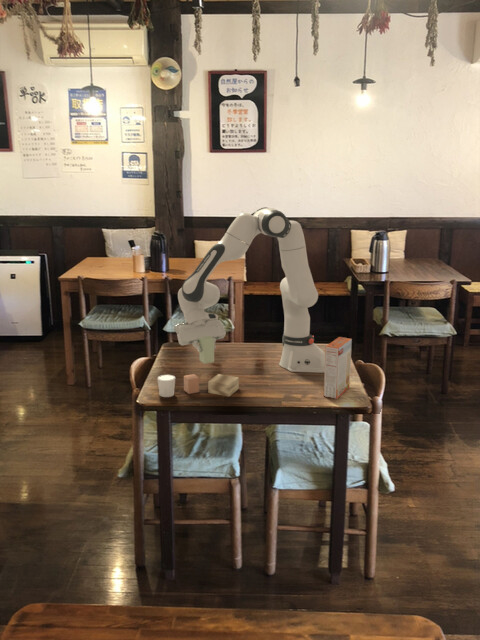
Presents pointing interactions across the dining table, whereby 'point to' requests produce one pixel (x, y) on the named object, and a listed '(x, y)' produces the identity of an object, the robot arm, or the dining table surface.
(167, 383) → the shot glass
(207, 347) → the sage block
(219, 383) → the beech base
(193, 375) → the terracotta block
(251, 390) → the dining table surface
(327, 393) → the cracker box
